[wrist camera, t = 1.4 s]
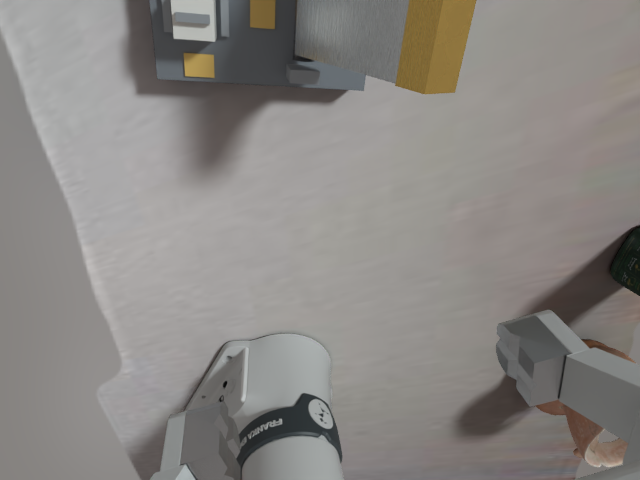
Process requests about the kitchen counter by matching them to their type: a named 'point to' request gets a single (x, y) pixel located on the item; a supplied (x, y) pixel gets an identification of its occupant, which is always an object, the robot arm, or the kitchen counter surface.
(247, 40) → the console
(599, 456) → the ceramic jug
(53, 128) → the kitchen counter surface
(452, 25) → the lever
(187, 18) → the slide switch
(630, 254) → the coffee jar
